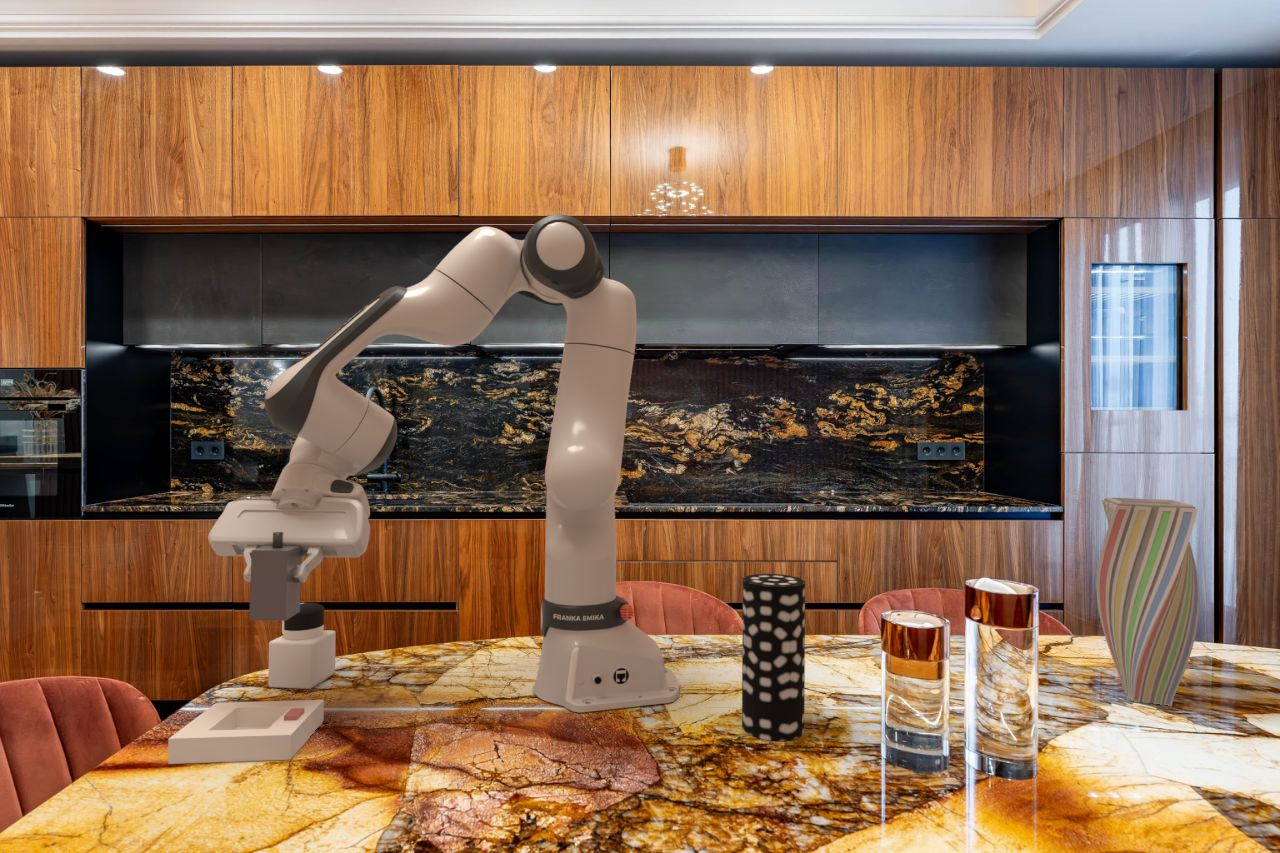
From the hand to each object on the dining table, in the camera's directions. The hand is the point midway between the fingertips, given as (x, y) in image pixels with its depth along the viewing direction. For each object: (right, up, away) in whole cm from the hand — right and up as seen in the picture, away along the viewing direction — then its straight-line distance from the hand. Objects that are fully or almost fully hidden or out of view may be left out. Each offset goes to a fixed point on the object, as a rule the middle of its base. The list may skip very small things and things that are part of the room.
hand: (274, 580), depth 90 cm
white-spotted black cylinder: (+66, -21, +3) cm, 69 cm away
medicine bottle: (-6, -21, +20) cm, 29 cm away
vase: (+125, -21, +15) cm, 128 cm away
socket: (-2, -20, -2) cm, 20 cm away
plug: (0, -5, +1) cm, 5 cm away
